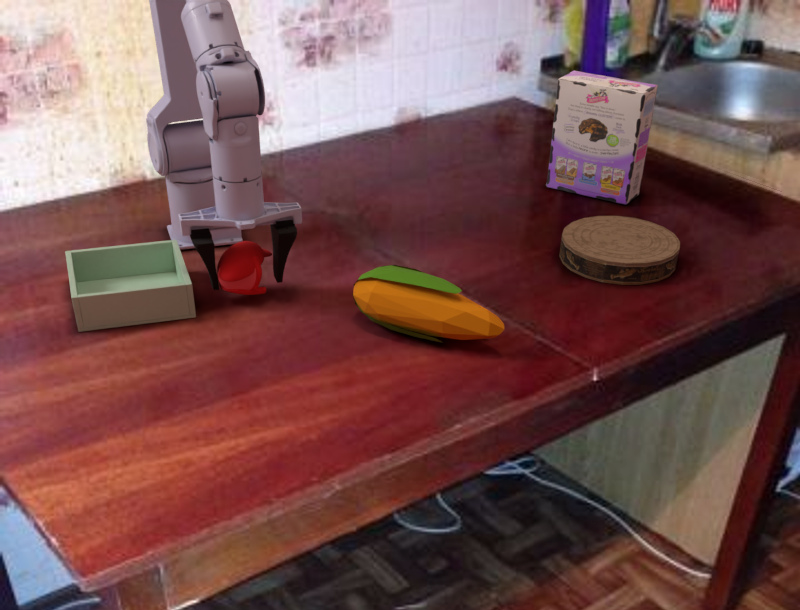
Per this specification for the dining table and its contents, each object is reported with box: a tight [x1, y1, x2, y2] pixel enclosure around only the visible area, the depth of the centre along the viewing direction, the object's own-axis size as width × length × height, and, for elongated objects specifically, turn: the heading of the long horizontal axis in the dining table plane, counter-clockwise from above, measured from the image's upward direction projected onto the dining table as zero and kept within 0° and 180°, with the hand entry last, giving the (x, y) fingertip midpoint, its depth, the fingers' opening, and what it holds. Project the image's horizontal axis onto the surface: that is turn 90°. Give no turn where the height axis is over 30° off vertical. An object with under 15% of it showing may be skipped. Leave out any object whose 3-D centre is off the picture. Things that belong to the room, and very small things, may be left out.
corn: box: [352, 264, 505, 344], centre depth 116 cm, size 7×8×20 cm
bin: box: [64, 239, 197, 333], centre depth 122 cm, size 14×13×4 cm
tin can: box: [558, 215, 681, 286], centre depth 135 cm, size 16×16×3 cm
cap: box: [216, 240, 273, 296], centre depth 122 cm, size 8×6×6 cm
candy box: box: [545, 70, 659, 206], centre depth 150 cm, size 14×6×16 cm, turn 58°
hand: (246, 282), depth 123 cm, fingers closed on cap, 7 cm apart
